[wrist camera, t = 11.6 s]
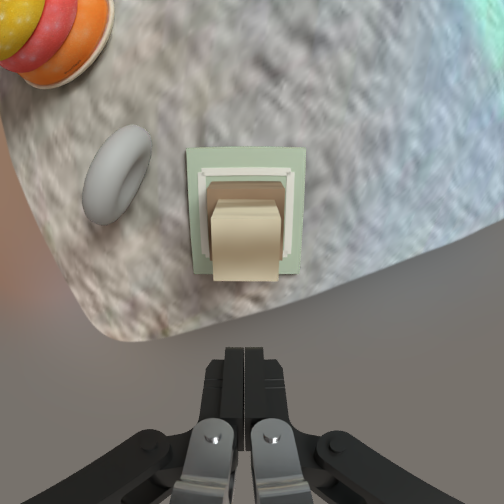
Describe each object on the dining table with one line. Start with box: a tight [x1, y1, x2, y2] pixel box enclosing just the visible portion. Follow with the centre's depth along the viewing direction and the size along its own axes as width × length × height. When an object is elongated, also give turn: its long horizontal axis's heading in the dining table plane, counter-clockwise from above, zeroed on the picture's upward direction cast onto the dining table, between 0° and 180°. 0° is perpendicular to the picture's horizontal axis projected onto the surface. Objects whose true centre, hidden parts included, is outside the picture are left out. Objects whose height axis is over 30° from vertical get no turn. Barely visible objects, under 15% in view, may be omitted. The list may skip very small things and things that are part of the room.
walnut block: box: [207, 181, 285, 261], centre depth 30 cm, size 7×7×4 cm
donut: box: [82, 125, 152, 225], centre depth 26 cm, size 10×4×10 cm, turn 152°
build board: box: [186, 147, 306, 274], centre depth 32 cm, size 14×12×1 cm
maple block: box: [211, 199, 281, 281], centre depth 25 cm, size 5×5×6 cm
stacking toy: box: [0, 0, 115, 89], centre depth 15 cm, size 14×14×20 cm
